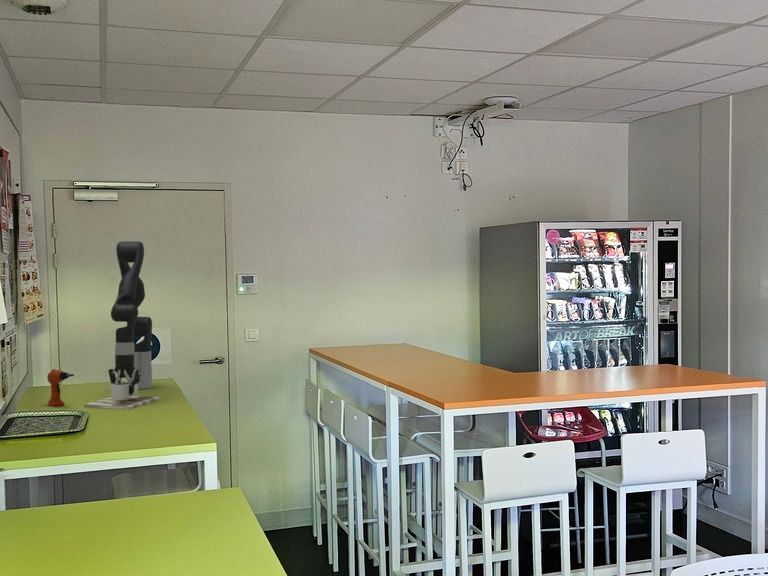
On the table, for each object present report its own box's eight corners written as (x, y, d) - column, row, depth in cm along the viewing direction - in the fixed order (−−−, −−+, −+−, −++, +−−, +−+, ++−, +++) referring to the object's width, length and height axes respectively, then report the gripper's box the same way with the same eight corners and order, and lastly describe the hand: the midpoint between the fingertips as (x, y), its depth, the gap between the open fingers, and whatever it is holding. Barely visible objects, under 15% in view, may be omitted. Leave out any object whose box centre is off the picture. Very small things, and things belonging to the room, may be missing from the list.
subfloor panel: (116, 397, 333) (116, 394, 333) (159, 399, 329) (159, 396, 329) (84, 407, 309) (84, 404, 309) (129, 409, 305) (129, 406, 305)
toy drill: (69, 406, 303) (66, 368, 304) (45, 407, 315) (43, 370, 315) (81, 404, 306) (78, 367, 307) (57, 405, 318) (54, 369, 319)
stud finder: (127, 394, 325) (127, 380, 325) (137, 394, 324) (137, 381, 324) (111, 398, 313) (111, 384, 313) (122, 399, 312) (122, 385, 312)
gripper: (145, 352, 320) (145, 393, 321) (114, 351, 323) (114, 392, 324) (135, 354, 313) (135, 396, 313) (103, 353, 316) (103, 395, 316)
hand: (124, 394), depth 319 cm, fingers closed on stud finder, 5 cm apart
